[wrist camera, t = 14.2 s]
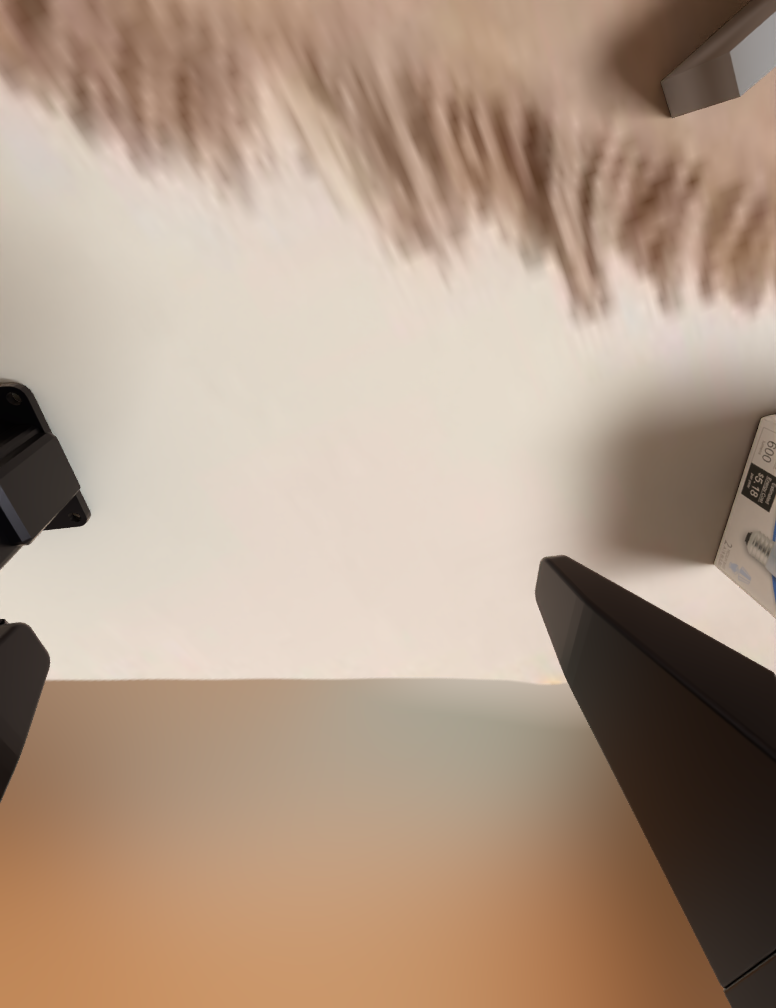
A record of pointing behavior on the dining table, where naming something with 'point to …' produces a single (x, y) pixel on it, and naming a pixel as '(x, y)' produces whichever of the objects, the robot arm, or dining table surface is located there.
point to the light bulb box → (754, 523)
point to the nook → (725, 61)
